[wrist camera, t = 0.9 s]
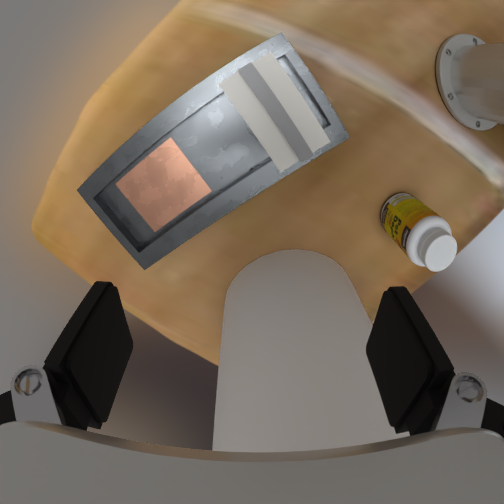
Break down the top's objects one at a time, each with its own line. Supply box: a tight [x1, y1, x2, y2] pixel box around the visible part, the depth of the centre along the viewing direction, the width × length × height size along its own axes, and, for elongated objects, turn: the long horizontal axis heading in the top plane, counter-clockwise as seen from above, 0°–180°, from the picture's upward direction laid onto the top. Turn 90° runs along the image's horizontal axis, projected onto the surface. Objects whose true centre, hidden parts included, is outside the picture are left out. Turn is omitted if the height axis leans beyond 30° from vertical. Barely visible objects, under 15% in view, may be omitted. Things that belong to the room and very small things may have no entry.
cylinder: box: [213, 249, 410, 452], centre depth 27 cm, size 17×17×28 cm
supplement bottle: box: [381, 193, 457, 271], centre depth 29 cm, size 6×6×10 cm
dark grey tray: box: [77, 32, 350, 270], centre depth 29 cm, size 26×12×3 cm, turn 124°
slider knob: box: [218, 52, 330, 172], centre depth 24 cm, size 5×9×6 cm, turn 34°
